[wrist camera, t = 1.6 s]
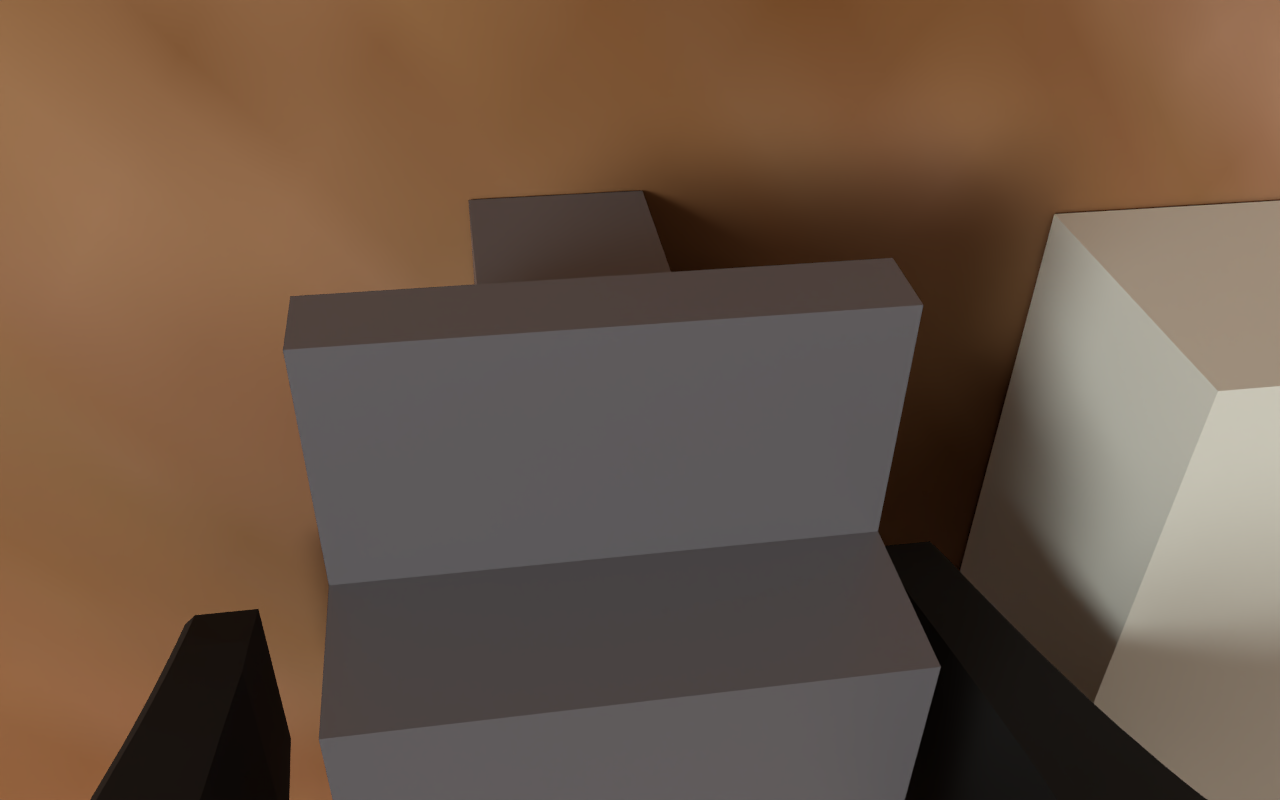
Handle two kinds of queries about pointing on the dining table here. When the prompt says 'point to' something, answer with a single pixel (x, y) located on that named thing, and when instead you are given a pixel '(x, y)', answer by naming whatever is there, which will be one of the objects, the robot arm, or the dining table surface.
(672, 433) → the block
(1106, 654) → the chassis
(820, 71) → the dining table surface
